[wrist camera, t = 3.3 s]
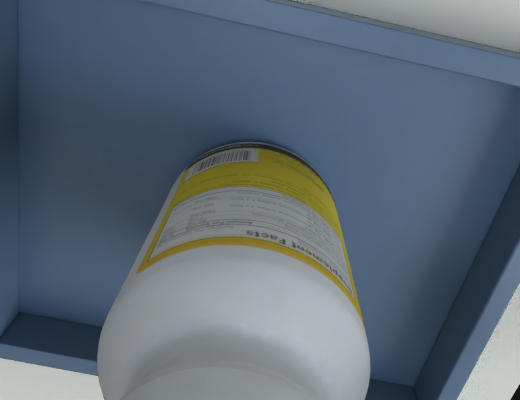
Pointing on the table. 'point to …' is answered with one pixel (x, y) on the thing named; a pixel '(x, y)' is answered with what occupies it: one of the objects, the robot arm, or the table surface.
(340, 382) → the pill bottle
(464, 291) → the tray
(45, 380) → the table surface
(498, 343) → the table surface
